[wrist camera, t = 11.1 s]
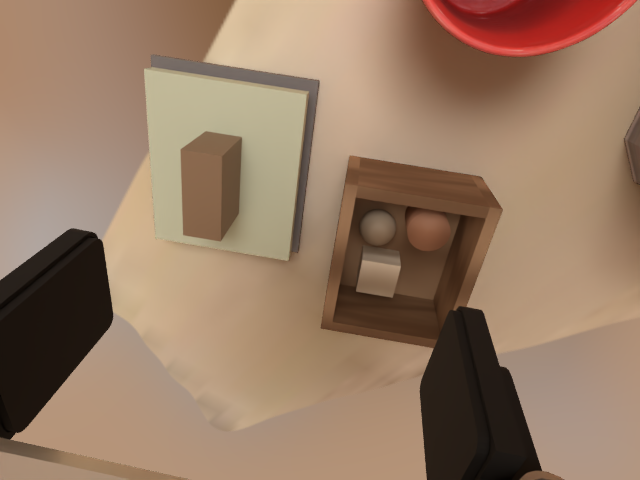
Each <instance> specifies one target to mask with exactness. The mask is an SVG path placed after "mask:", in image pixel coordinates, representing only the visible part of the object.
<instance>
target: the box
mask: <svg viewBox="0 0 640 480" xmlns="http://www.w3.org/2000/svg"><path fill="white" fill-rule="evenodd" d="M502 210H503V209H502V208H501V206H500V205H499V203H498V201H497V200H496V198H495V197H494V195H493V194H492V192H491V191H490V189H489V188H488V186H487V185H486V183H485V182H484V180H483V179H482V177H479V176H473V175H467V174H461V173H454V172H448V171H442V170H436V169H430V168H423V167H417V166H411V165H405V164H399V163H392V162H386V161H380V160H374V159H368V158H361V157H355V156H350V157H349V163H348V169H347V175H346V180H345V186H344V192H343V198H342V204H341V210H340V216H339V221H338V227H337V233H336V239H335V245H334V251H333V256H332V262H331V268H330V274H329V280H328V286H327V292H326V298H325V305H324V311H323V317H322V323H321V328H322V329H328V330H333V331H339V332H345V333H351V334H356V335H362V336H368V337H373V338H379V339H385V340H391V341H396V342H402V343H408V344H414V345H419V346H425V347H431V348H434V347H435V345H436V342H437V340H438V337H439V334H440V332H441V329H442V327H443V324H444V322H445V319H446V317H447V314H448V312H449V311H450V310H455V311H456V309H457V308H458V307H459V306H463V307H466V306H467V303H468V301H469V298H470V295H471V293H472V290H473V287H474V285H475V282H476V279H477V277H478V274H479V271H480V269H481V266H482V263H483V261H484V258H485V256H486V253H487V250H488V248H489V245H490V242H491V240H492V237H493V234H494V232H495V229H496V226H497V224H498V221H499V218H500V216H501V213H502Z"/></svg>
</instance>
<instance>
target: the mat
mask: <svg viewBox="0 0 640 480" xmlns="http://www.w3.org/2000/svg"><path fill="white" fill-rule="evenodd" d="M151 67H155V68H161V69H168V70H174V71H180V72H187V73H193V74H200V75H206V76H212V77H219V78H225V79H232V80H238V81H244V82H251V83H257V84H264V85H270V86H276V87H283V88H289V89H296V90H302V91H308V92H309V97H308V106H307V115H306V124H305V133H304V141H303V150H302V159H301V168H300V177H299V186H298V195H297V203H296V212H295V221H294V230H293V239H292V248H291V252H297V253H298V249H299V241H300V233H301V224H302V216H303V208H304V200H305V192H306V184H307V176H308V168H309V160H310V152H311V144H312V135H313V127H314V119H315V111H316V103H317V95H318V87H319V80H313V79H307V78H300V77H294V76H287V75H281V74H275V73H268V72H262V71H255V70H249V69H243V68H236V67H230V66H223V65H217V64H211V63H204V62H198V61H191V60H185V59H179V58H172V57H166V56H159V55H151Z"/></svg>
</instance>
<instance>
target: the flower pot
mask: <svg viewBox="0 0 640 480" xmlns="http://www.w3.org/2000/svg"><path fill="white" fill-rule="evenodd" d="M422 1H423V3H424V4H425V6H426V8H427V9H428V11H429V12H430V13H431V15H432V16H433V17H434V19H435V20H436V21H437V22H438V23H439V24H440V25H441V26H442V27H443V28H444V29H445V30H446V31H447V32H448V33H449V34H451V35H452V36H454V37H455V38H456V39H458V40H459V41H461V42H463V43H464V44H466V45H468V46H470V47H472V48H475V49H477V50H480V51H483V52H486V53H489V54H493V55H500V56H508V57H526V56H536V55H541V54H546V53H550V52H554V51H557V50H560V49H563V48H566V47H568V46H571V45H574V44H576V43H579V42H581V41H583V40H585V39H587V38H589V37H590V36H592V35H594V34H596V33H597V32H599V31H600V30H602V29H604V28H605V27H607V26H608V25H609V24H611V23H612V22H613V21H615V20H616V19H617V18H618V17H620V16H621V15H622V14H623V13H624V12H626V11H627V10H628V9H629V8H630V7H631V6H632V5H633V4H634V3H635V2H636V1H637V0H422Z"/></svg>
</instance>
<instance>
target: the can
mask: <svg viewBox="0 0 640 480" xmlns="http://www.w3.org/2000/svg"><path fill="white" fill-rule="evenodd" d="M624 141H625V146H626V150H627V154H628V159H629V163H630V168H631V172H632V177H633V181H634V182H636V183H637V184H639V185H640V107H639V109H638V111H637V113H636V116H635V118H634V120H633V122H632V124H631V126H630V128H629V130H628V132H627V134H626V136H625V138H624Z"/></svg>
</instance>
